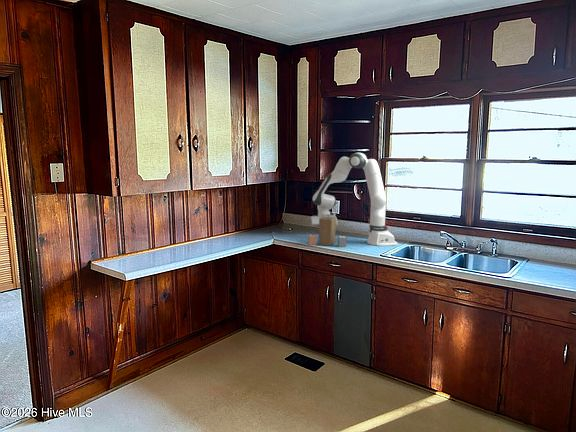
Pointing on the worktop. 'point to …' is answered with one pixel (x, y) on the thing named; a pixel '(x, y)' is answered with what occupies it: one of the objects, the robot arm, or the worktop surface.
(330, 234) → the wooden block
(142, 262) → the worktop surface
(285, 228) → the worktop surface
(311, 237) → the terracotta block
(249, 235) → the worktop surface
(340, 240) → the slate block
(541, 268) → the worktop surface
